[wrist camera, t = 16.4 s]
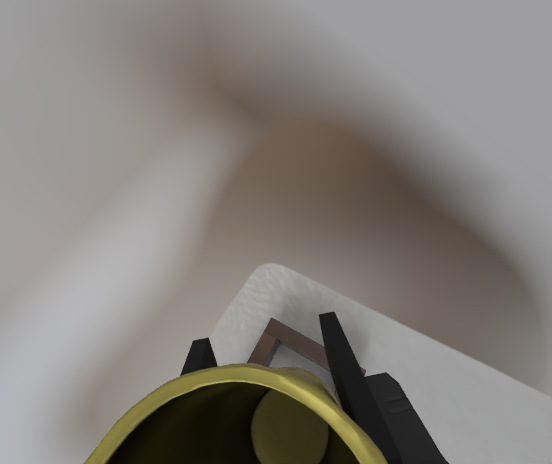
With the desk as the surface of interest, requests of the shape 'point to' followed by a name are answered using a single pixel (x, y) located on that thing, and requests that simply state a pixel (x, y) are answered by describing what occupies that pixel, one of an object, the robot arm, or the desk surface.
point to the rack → (294, 341)
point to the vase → (238, 422)
